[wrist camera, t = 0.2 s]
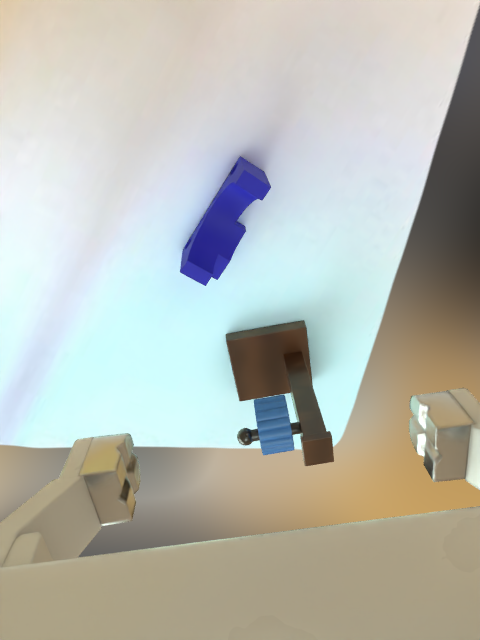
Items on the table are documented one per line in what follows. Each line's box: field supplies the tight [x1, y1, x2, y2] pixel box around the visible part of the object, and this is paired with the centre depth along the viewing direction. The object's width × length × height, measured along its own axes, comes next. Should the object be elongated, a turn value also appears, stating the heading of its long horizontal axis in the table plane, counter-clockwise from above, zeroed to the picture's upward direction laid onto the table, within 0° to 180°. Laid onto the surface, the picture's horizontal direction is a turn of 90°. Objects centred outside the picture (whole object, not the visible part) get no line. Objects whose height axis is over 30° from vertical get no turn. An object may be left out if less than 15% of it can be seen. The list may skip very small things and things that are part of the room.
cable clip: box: [180, 156, 271, 286], centre depth 48 cm, size 12×4×6 cm, turn 147°
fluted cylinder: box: [254, 395, 294, 455], centre depth 50 cm, size 3×6×6 cm, turn 10°
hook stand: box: [226, 321, 334, 466], centre depth 53 cm, size 10×10×17 cm
